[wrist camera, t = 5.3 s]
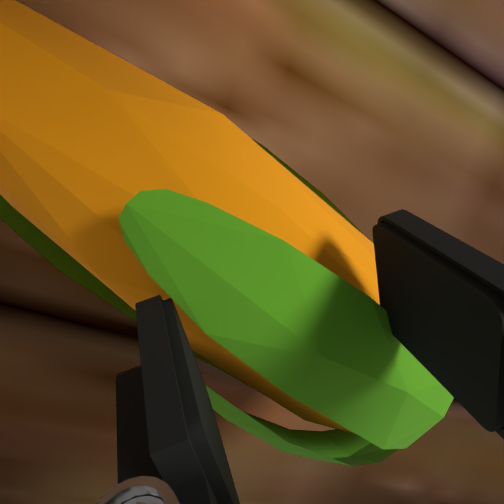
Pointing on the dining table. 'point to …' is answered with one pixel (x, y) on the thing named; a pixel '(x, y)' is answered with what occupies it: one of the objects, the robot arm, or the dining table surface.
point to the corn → (204, 241)
